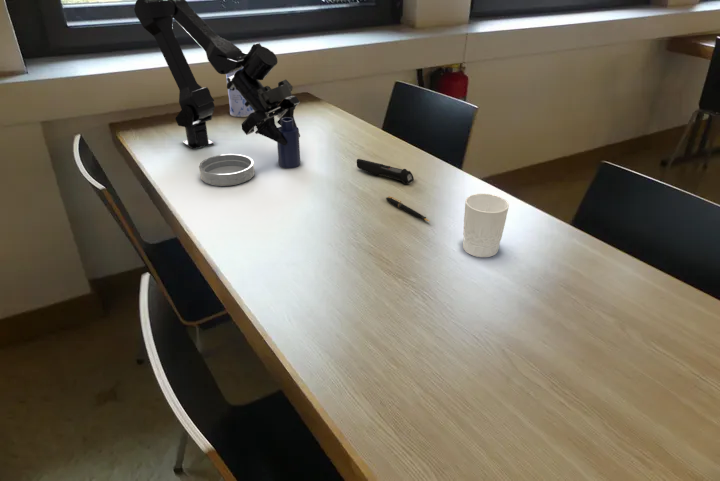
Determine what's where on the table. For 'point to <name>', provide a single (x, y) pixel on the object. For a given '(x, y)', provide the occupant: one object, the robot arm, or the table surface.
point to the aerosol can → (237, 101)
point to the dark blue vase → (289, 144)
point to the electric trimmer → (385, 171)
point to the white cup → (484, 224)
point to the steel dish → (226, 169)
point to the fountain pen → (405, 208)
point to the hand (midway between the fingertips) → (292, 141)
